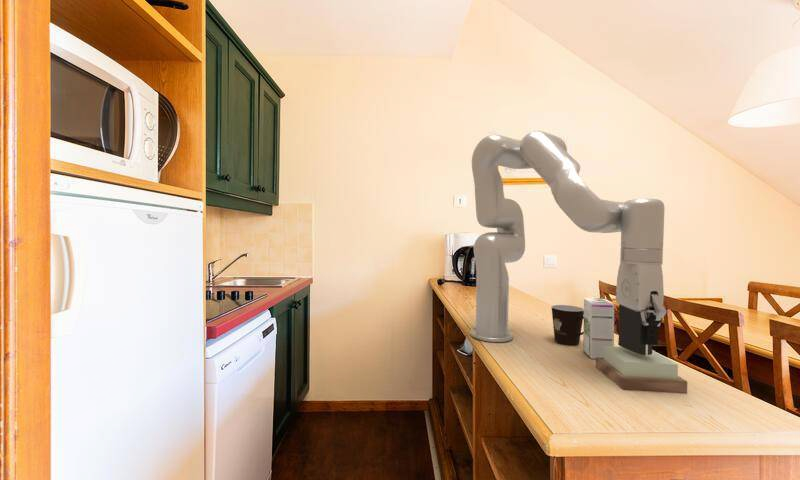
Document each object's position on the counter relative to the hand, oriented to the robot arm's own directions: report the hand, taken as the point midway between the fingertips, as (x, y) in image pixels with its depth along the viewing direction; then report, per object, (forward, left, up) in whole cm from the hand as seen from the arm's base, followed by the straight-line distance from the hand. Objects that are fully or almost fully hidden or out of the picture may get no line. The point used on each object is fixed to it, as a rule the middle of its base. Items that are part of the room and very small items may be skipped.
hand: (638, 337), depth 75 cm
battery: (0, 0, -3) cm, 3 cm away
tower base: (0, 0, -10) cm, 10 cm away
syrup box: (-14, -2, -9) cm, 17 cm away
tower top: (0, 0, -7) cm, 7 cm away
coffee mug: (-23, -6, -9) cm, 26 cm away
